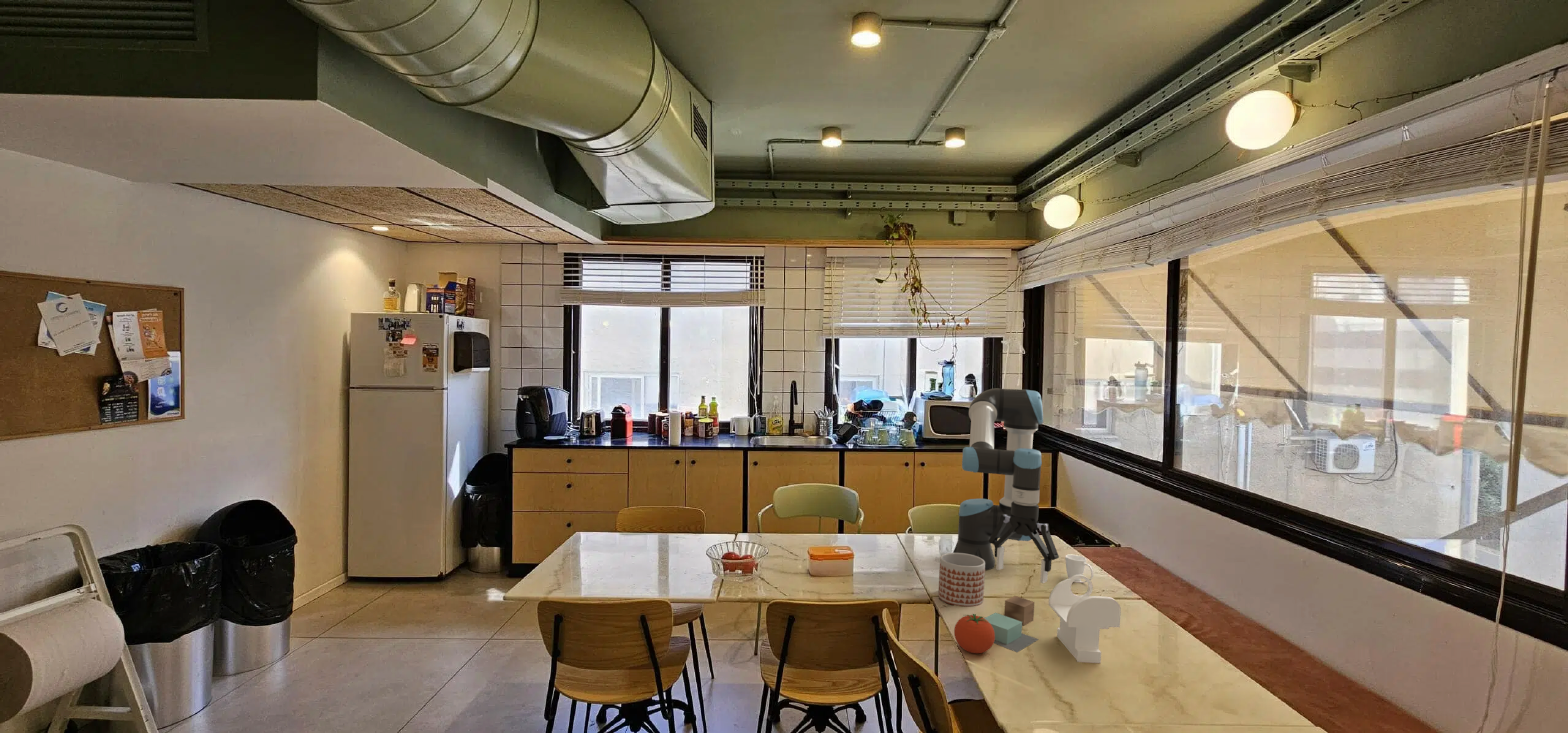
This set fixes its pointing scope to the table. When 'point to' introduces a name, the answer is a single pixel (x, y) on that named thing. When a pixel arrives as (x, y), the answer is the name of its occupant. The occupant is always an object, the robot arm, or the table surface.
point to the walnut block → (1019, 609)
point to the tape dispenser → (1083, 618)
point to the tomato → (974, 634)
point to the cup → (1076, 566)
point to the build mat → (1018, 643)
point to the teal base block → (1005, 628)
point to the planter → (961, 579)
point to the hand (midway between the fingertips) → (1021, 575)
